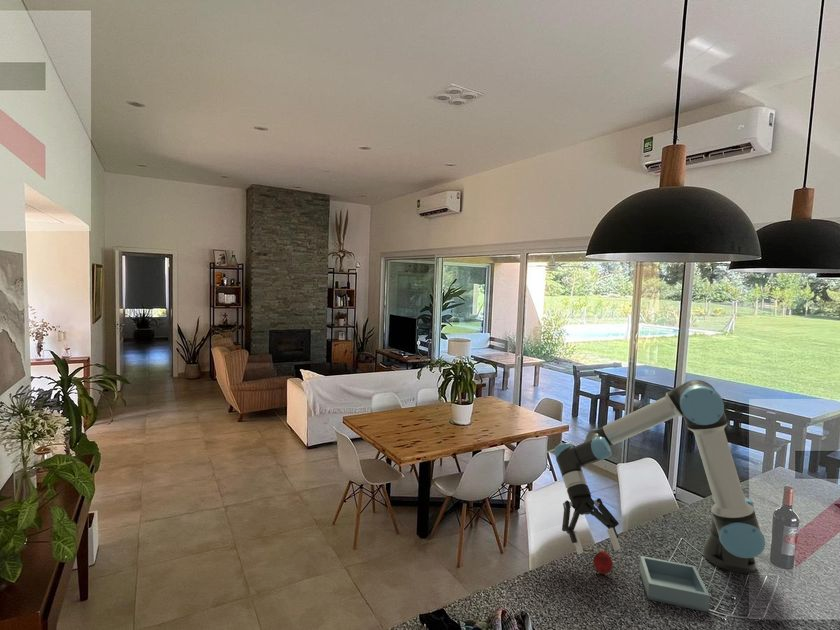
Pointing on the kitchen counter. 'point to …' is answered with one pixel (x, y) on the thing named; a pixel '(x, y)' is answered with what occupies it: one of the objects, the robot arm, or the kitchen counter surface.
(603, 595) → the kitchen counter surface
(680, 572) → the bin
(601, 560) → the onion
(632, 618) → the kitchen counter surface
